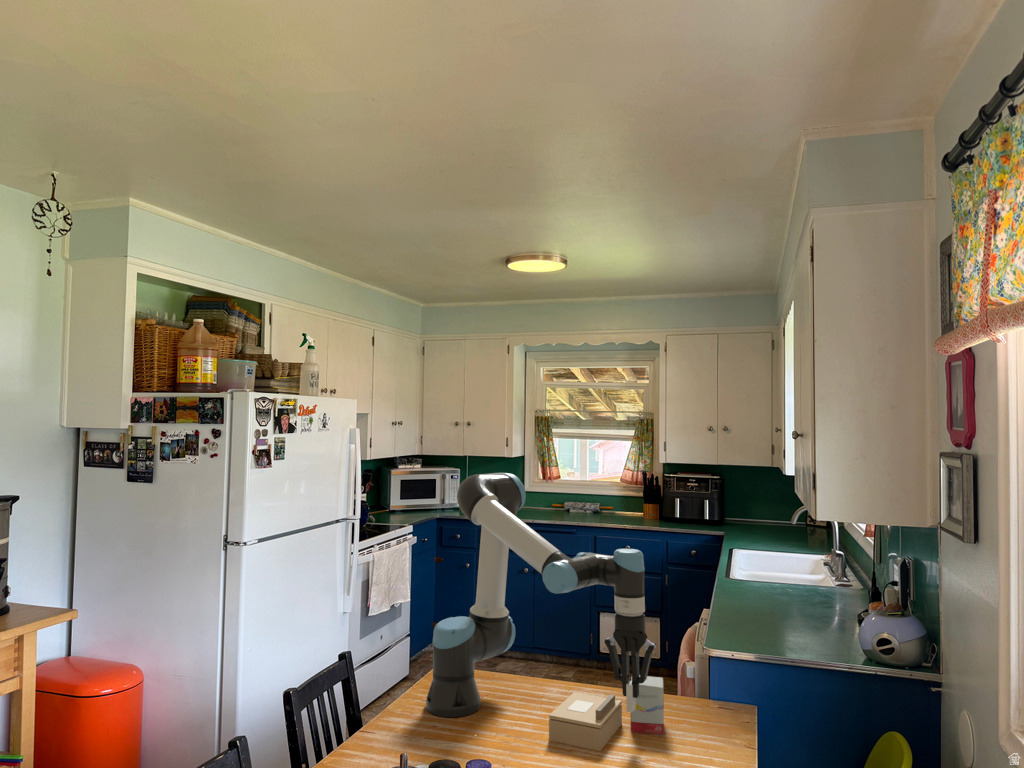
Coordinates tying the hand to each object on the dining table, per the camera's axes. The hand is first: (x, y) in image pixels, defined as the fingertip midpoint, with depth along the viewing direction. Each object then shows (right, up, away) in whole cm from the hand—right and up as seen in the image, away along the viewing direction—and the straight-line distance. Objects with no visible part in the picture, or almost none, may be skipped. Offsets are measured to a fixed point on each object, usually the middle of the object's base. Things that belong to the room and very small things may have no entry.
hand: (631, 710), depth 172 cm
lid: (-10, -3, +6) cm, 12 cm away
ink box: (+6, -9, +9) cm, 14 cm away
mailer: (-11, -8, +6) cm, 15 cm away
